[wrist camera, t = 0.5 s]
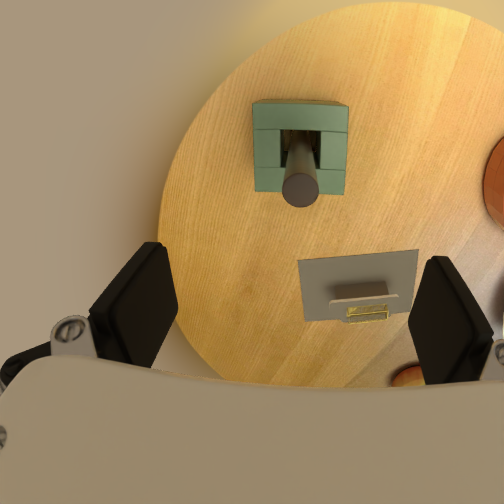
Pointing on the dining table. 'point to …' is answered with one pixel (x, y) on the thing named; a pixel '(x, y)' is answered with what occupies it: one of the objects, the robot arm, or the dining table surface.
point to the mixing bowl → (495, 185)
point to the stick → (300, 171)
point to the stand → (300, 118)
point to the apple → (409, 378)
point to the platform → (358, 286)
